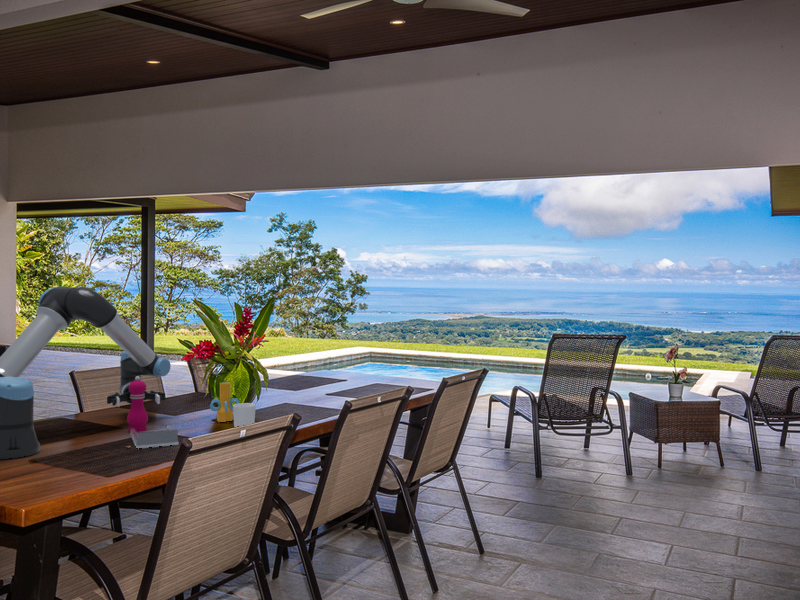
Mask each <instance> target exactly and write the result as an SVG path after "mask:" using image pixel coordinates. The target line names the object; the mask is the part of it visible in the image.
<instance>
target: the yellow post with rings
mask: <svg viewBox="0 0 800 600" xmlns="http://www.w3.org/2000/svg"><path fill="white" fill-rule="evenodd" d="M233 402H234V403H235V404H239V403H240V400H239V398H236V397H232V398H231V382H226V381H225V382H223V381H222V382H219V399H218V398H213V399H212V400H211V401H210V405H209V408H210V410H211V411H212V412H216V417H217V418H216V421H218V422H217V423H220V422H226V421H232V420H233V421H234V415H233V405H232V404H233ZM214 403H217V404H218V406H217V407H215V405H214ZM233 421H232V422H233Z"/></svg>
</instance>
